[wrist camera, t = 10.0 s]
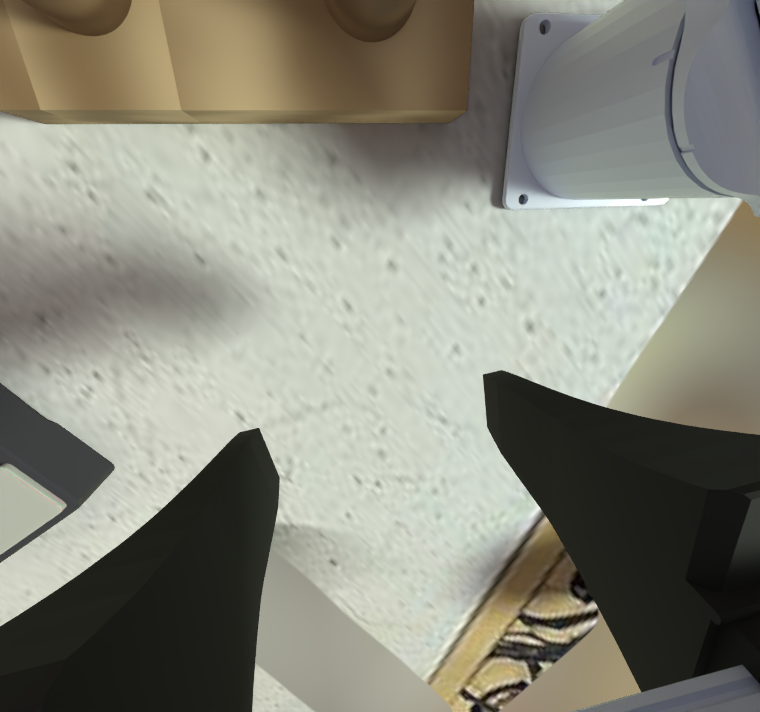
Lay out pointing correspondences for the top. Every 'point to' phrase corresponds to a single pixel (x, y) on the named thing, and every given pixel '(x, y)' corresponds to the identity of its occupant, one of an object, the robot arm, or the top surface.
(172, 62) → the wooden peg board
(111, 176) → the top surface
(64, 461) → the calculator
